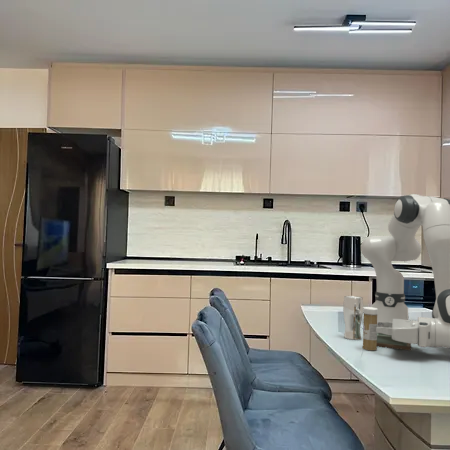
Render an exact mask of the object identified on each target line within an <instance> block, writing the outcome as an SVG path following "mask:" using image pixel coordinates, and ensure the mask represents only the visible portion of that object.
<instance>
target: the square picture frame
mask: <svg viewBox="0 0 450 450" xmlns="http://www.w3.org/2000/svg"><path fill="white" fill-rule="evenodd" d="M377 346H379V347H378V348H385V347H387V348H388V349H395V350H396V349H397V350H403V351H404V350H405V351H412V344H411V343H405V342H400V341H396V340H393V339H392V335H386V334H382V333H377ZM377 346H376V347H377ZM387 348H386V349H387Z"/></svg>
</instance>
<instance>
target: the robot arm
mask: <svg viewBox="0 0 450 450" xmlns="http://www.w3.org/2000/svg"><path fill="white" fill-rule="evenodd" d="M421 226H422V234H423V240H424V245H425V248H426V249H425V250H426V252H427V255H428V259H429V262H430V266H431V269H432V275H433V281H434V290H435V303H434V306H433V307H432V311H431V317H424V316H423V317H422V316H418V317H417V320H414V319H413V320H410V319H409V307H408V306H407V304H406V303H405V302H406V295H405V292H404V291H405V278H404V277H405V276H404V275H403V274H402V272H401V271H399V270H398V269H395V268H394V266H393V264H392V262H410V261H416V260H417V259H418V258H419V257H420V255H421V253H422V245H421V243H420V241H419V240H418V239H417V238H416V234H417V232H418V230H419V228H420V227H421ZM387 230H388V233H389V234H390V235H371V236H366V237H365V238H364V239H363V240H362V242H361V245H360V251H361V254H362V256H363V257H364V258H365V259H366V260H368V262H370V264H371V265H372V267H373V269H374V272H375V277H376V278H375V279H376V291H375V294H374V295H375V302H373V303H372V304H371V307H373V308H377V309H378V314H377V327H376V332H377V333H382V334H386V335H392V339H393V340H396V341H400V342H405V343H411V345H417V346H418V347H420V348H446V349H448V350H450V199H449V198H445V197H444V198H441V197H436V196H430V195H426V196H425V195H421V194H418V193H417V194H416V193H415V194H414V193H412V194H409V195H401V196H399V197H398V198H397V199H396V202H395V203H394V208H393V214H392V217H391V218H390V220H389V222H388V225H387Z"/></svg>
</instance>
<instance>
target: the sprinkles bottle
mask: <svg viewBox="0 0 450 450" xmlns="http://www.w3.org/2000/svg"><path fill="white" fill-rule="evenodd" d="M377 314H378V309H377V308H373V307H372V306H363V328H362V329H363V330H362V349H363V350H366V351H377V349H378V347H377V332H376V327H377Z"/></svg>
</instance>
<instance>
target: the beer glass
mask: <svg viewBox="0 0 450 450" xmlns="http://www.w3.org/2000/svg"><path fill="white" fill-rule="evenodd" d="M363 298H364V297H362V296H357V295H356V296H354V295H344V297H343V307H342V308H343V309H342V311H343V319H344V333H343V338H344V339H346V340H352V341H361V340H362V334H361V325H362V320H363V317H364V313H363V308H364V301H363Z"/></svg>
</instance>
